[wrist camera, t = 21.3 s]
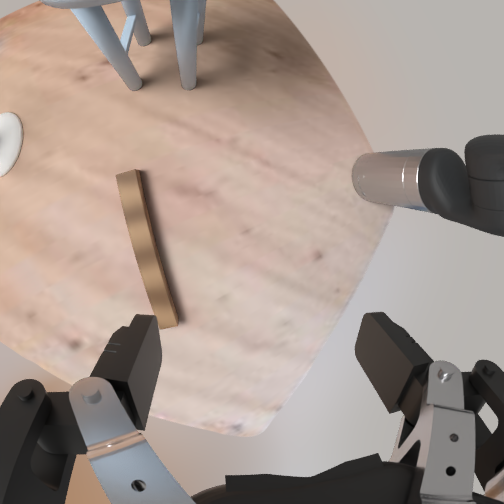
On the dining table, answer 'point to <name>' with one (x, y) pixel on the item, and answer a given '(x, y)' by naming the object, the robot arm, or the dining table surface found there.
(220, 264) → the dining table surface
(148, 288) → the thin wooden plank
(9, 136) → the candlestick
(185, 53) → the stool
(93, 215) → the dining table surface
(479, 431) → the robot arm
